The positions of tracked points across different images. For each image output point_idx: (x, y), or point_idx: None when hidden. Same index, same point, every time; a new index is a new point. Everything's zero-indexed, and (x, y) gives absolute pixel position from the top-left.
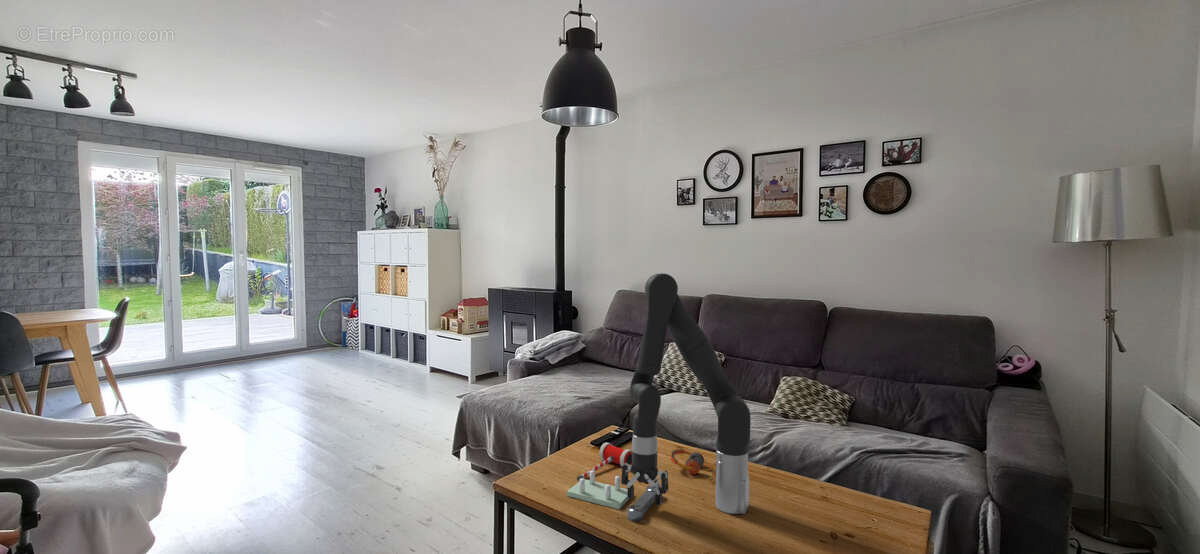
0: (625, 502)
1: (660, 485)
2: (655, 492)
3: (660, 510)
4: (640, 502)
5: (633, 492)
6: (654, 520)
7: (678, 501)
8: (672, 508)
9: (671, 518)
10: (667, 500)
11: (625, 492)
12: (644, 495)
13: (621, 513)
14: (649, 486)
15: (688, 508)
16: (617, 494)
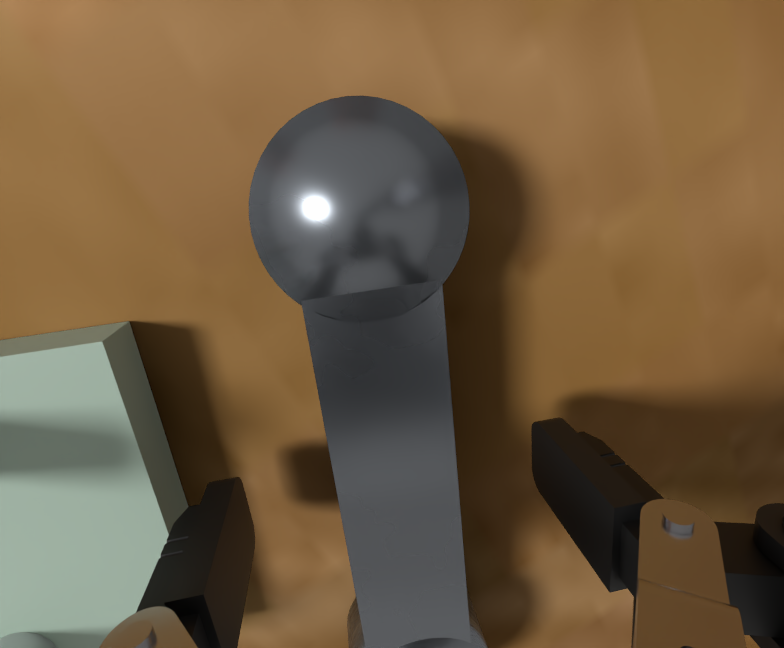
0: (184, 502)
1: (725, 578)
2: (442, 296)
3: (543, 412)
4: (408, 589)
5: (228, 529)
6: (557, 558)
7: (646, 139)
8: (629, 315)
9: (665, 461)
10: (532, 191)
11: (65, 441)
12: (362, 450)
13: (281, 638)
14: (269, 175)
15: (766, 223)
16: (27, 534)
